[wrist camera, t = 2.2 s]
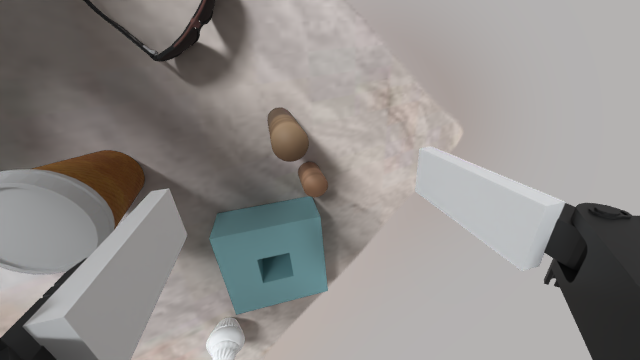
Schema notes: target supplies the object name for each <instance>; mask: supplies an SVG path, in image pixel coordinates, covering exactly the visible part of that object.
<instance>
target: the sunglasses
mask: <svg viewBox="0 0 640 360" xmlns="http://www.w3.org/2000/svg"><path fill="white" fill-rule="evenodd" d="M84 1H85V2H86V3H87V5H88V6H90V7H91V8H92V9H93V10H94V11H95V12H96V13H97V14H99V15H100V16H101V17H102V18H104V19H105V20H106V21H107V22H109V23H110V24H111V25H113V26H114V27H115V28H116V29H117V30H119V31H120V32H121V33H122V34H124V35H125V36H126V37H127V38H128V39H130V40H131V41H132V42H133V43H134V44H136V45H137V46H138V47H139V48H141V49H142V50H143V51H144V52H146V53H147V54H148V55H149V56H150V57H151V58H152V59H153V60H154V61H167V60H170V59H172V58H174V57H176V56H178V55H180V54H181V53H183V51H185V50H186V49H187V48H189V47H190V46H191V45H193V44H194V43H196V42H197V41H198V39H199V36H200V29H201V28H202V26H203V25H204V24H207V23H208V22H209V21H210V20H211V18H212V14H213V8H214V4H215V0H201V3H200V5H199V7H198V9H197V11H196V12H195V14H194V16H193V17H192V19H191V20H190V22H189V24H188V26H187V27H186V29H185V30H184V32H183V33H182V34H181V36H180V37H179V38H178V39H177V40H176V41H175V42H174V43H173V44H172V45H171V46H170V47H169V48H167V49H166V50H165V51H163V52H162V53H160V54H159V55H158V52H157V51H154V50H150V49H149V48H148V47H146V46H145V45H144V44H142V43H141V42H140V41H139V40H138V39H136V38H135V37H134V36H133V35H131V34H130V33H129V32H128V31H127V30H125V29H124V28H123V27H121V26H120V25H118V24H117V23H115V22H114V21H112V20H111V19H109V18H108V17H107V16H106V15H104V14H103V13H102V12H101V11H100V10H98V9H97V8H96V7H95V6H94V5H93V4H92V3H91V2H90V1H89V0H84ZM199 21H200V22H199ZM195 27H196V29H195Z"/></svg>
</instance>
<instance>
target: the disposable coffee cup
mask: <svg viewBox="0 0 640 360" xmlns="http://www.w3.org/2000/svg"><path fill="white" fill-rule="evenodd" d="M144 181H145V176H144V173H143V170H142V168H141V167H140V165H139V164H138V163H137V162H136V161H135V160H134V159H132V158H131V157H129V156H128V155H126V154H123V153H120V152H117V151H111V150H104V151H99V152H95V153H91V154H87V155H84V156H80V157H76V158H71V159H68V160H64V161H60V162H56V163H52V164H48V165H44V166H40V167H36V168H33V169H16V170H6V171H1V172H0V267H1V268H4V269H7V270H10V271H15V272H20V273H27V274H55V273H61V272H66V271H68V270H69V269H71V268H72V267H73V266H75V265H76V264H78V263H79V262H81V261H82V260H83V259H85V258H88V257H89V256H90V255H91V254H92V253H93V252H94V251H95V250H96V249H97V248H98V247H99V245H100V244H101V243H102V242H103V241H104V240H105V239H106V238H107V237H108V236H109V235H110V234H111V233H112V232H113V231H114V230H115V228H116V226H117V225H118V223H119V222H120V220H121V219H122V217H123V216H124V214H125V213H126V211H127V210H128V208H129V207H130V205H131V204H132V202H133V201H134V199H135V198H136V196H137V195H138V193H139V192H140V190H141V189H142V187H143V185H144Z"/></svg>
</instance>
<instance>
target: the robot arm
mask: <svg viewBox="0 0 640 360" xmlns="http://www.w3.org/2000/svg"><path fill="white" fill-rule="evenodd" d="M415 192H417V193H418V194H420V195H421V196H422V197H424V198H425V199H426V200H428V201H429V202H430V203H432V204H433V205H434V206H436V207H437V208H438V209H440V210H441V211H442V212H444V213H445V214H446V215H448V216H449V217H450V218H452V219H453V220H454V221H456V222H457V223H458V224H460V225H461V226H462V227H464V228H465V229H466V230H468V231H469V232H470V233H472V234H473V235H474V236H476V237H477V238H478V239H480V240H481V241H482V242H484V243H485V244H486V245H488V246H489V247H490V248H492V249H493V250H494V251H496V252H497V253H498V254H500V255H501V256H502V257H504V258H505V259H506V260H508V261H509V262H510V263H512V264H513V265H515V266H516V267H517V268H518V269H520V270H521V271H523V270H527V269H531V268H534V267H538V266H539V265H540V262H541V260H542V257H543V255H544V253H546V254H548V255H549V256H551V257H552V258H553V260H552V263H551V265H550V267H549V269H548V272H547V274H546V276H545V279H544V284H549V282H550V280H551V279H552V278H556V282H555V284H554V286H556V287H560V289H561V291H562V293H563V295H564V297H565V300H566V302H567V304H568V306H569V308H570V311H571V313H572V315H573V317H574V319H575V322H576V324H577V326H578V328H579V330H580V332H581V335H582V337H583V339H584V341H585V344H586V346H587V348H588V350H589V353H590V355H591V357H592V359H593V360H640V216H632V215H631V214H629V213H628V212H626V211H623V210H620V209H617V208H614V207H611V206H607V205H601V204H595V203H582V204H579V205H577V206H576V207H574V206H571V205H569V204H566V203H565V201H563V200H560V199H557V198H555V197H553V196H550V195H548V194H546V193H543V192H541V191H538V190H536V189H534V188H531V187H529V186H526V185H524V184H521V183H519V182H517V181H514V180H512V179H509V178H507V177H505V176H502V175H500V174H497V173H495V172H492V171H490V170H488V169H485V168H483V167H480V166H478V165H475V164H473V163H471V162H468V161H466V160H463V159H461V158H459V157H456V156H454V155H451V154H449V153H446V152H444V151H442V150H439V149H437V148H434V147H432V146H431V147H424V148H419V158H418V168H417V178H416V188H415ZM187 236H188V235H187V232H186V230H185V227H184V225H183V222H182V220H181V217H180V215H179V212H178V210H177V207H176V205H175V202H174V200H173V197H172V195H171V192H170V189H169V188H168V189H161V190H155V191H151V192H150V193H149V194H148V195H147V196H146V197H145V198H144V199H143V200H142V201H141V202H140V203H139V205H138V206H137V207H136V208H135V209H134V210H133V211H132V212H131V213H130V214H129V215H128V216H127V217H126V218H125V219H124V220H123V221H122V222H121V223H120V224H119V226H118V227H117V228H116V229H115V230H114V231H113V232H112V233H111V234H110V235H109V236H108V237H107V238H106V239H105V240H104V241H103V242H102V243H101V244H100V245H99V247H98V248H97V249H96V250H95V251H94V252H93V253H92V254H91V255H90V256H89V257H88V258H85V259H83V260H82V261H81V262H79V263H78V264H76V265H75V266H73V267H72V268H71V269H69V270H68V271H67V272H66V273H65V274H64V275H63V276H62V277H61V278H60V279H59V280H58V281H57V282H56V283H55V284H54V286H53V287H51V288H50V289H49V290H48V291H47V292H46V293H45V294H44V295H43V298H40V299H39V300H38V301H37V302H36V303H35V304H34V305H33V306H32V307H31V308H30V309H29V310H28V311H27V312H26V313H25V314H24V315H23V316H22V317H21V318H20V319H19V320H18V321H17V322H16V323H15V324H14V325H13V326H12V327H11V328H10V329H9V330H8V331H7V332H6V333H5V334H4V335H3V336H2V337H1V338H0V360H131V357H132V355H133V353H134V351H135V349H136V347H137V344H138V342H139V340H140V338H141V336H142V333H143V331H144V329H145V327H146V325H147V323H148V320H149V318H150V316H151V314H152V312H153V310H154V307H155V305H156V303H157V301H158V299H159V297H160V294H161V292H162V290H163V288H164V286H165V284H166V281H167V279H168V277H169V275H170V273H171V270H172V268H173V266H174V264H175V262H176V260H177V257H178V255H179V253H180V251H181V249H182V247H183V244H184V242H185V240H186V238H187Z"/></svg>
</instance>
